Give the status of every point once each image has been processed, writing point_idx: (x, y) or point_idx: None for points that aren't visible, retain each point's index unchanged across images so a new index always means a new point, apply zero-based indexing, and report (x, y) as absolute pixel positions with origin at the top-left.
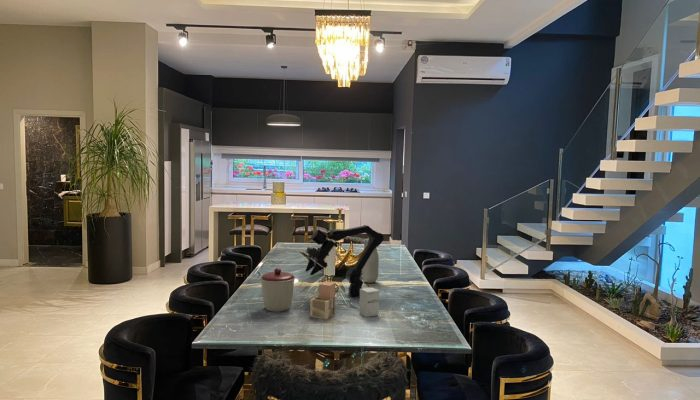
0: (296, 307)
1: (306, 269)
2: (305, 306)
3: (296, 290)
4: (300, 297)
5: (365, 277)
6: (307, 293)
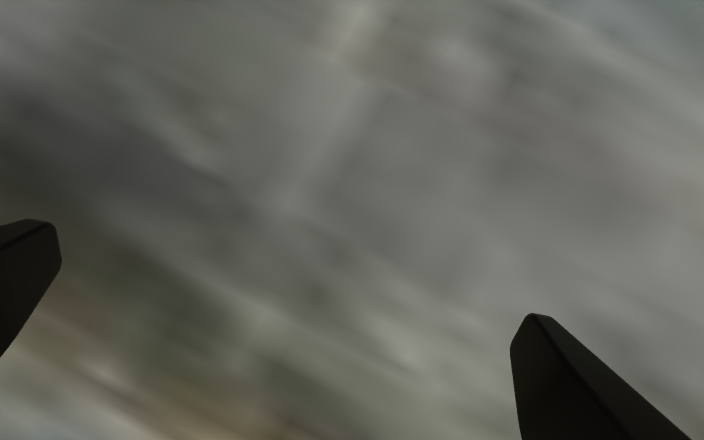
0: (133, 55)
1: (545, 346)
2: (115, 141)
3: (670, 314)
4: (420, 237)
5: None
6: None
